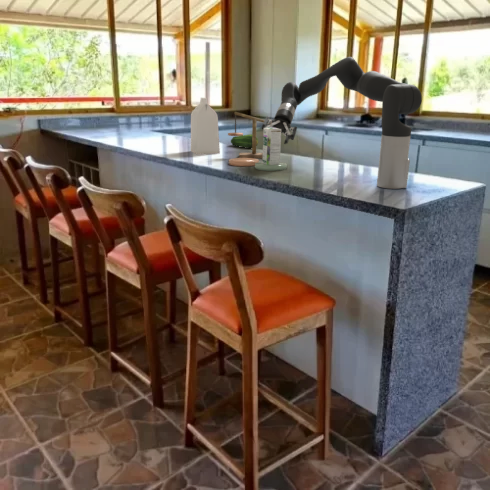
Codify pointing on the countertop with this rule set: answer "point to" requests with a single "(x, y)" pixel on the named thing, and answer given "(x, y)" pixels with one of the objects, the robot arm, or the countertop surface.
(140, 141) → the countertop surface
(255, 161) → the terracotta dish
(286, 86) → the robot arm
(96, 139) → the countertop surface
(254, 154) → the balance
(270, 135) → the syrup box
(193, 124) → the milk
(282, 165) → the sage dish
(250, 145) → the vegetable
